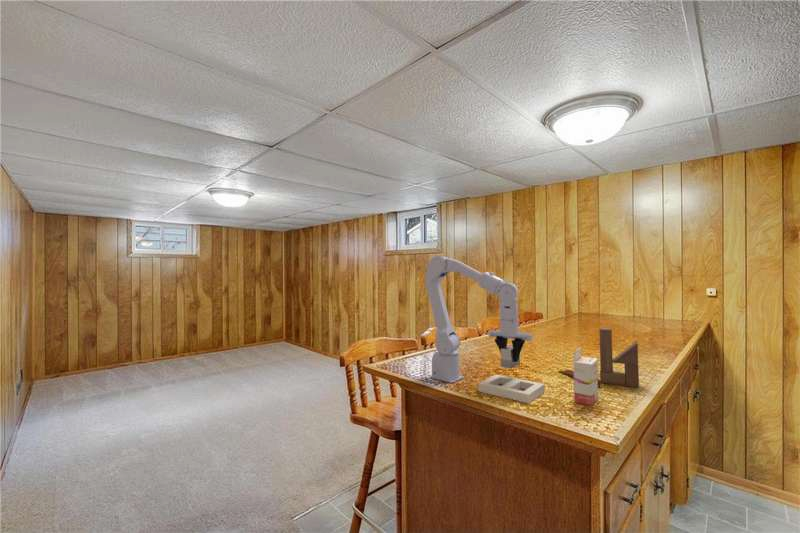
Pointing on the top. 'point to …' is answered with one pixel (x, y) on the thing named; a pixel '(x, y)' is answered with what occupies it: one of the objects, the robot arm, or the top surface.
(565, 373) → the primitive tool
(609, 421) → the top surface
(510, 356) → the tall grey block
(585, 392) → the ink cartridge box
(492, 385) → the light grey flat piece
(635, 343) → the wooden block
